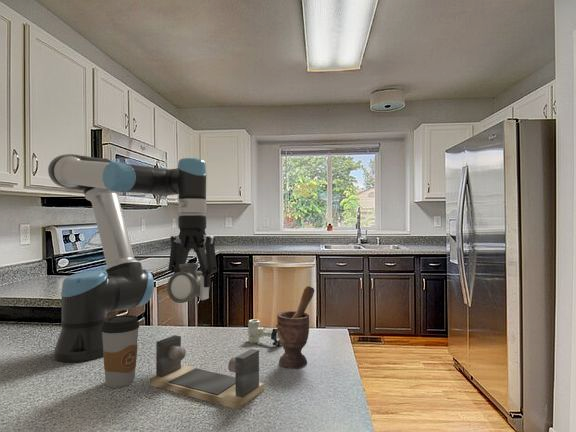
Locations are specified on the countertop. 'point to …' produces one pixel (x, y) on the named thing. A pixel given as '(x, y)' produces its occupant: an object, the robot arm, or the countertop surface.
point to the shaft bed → (207, 376)
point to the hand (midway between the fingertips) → (192, 297)
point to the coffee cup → (120, 349)
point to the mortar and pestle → (294, 332)
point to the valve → (261, 332)
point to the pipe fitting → (184, 283)
